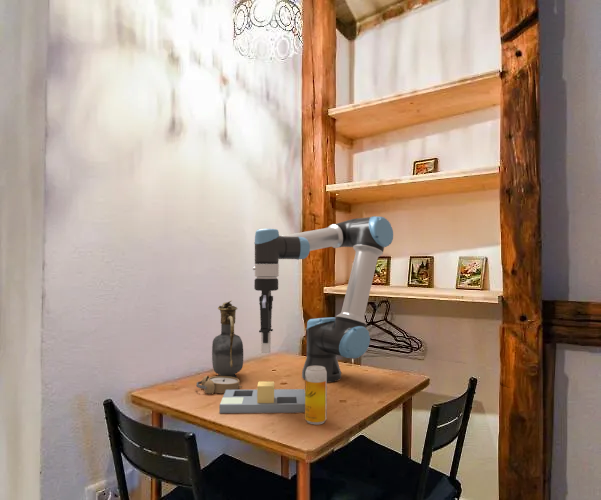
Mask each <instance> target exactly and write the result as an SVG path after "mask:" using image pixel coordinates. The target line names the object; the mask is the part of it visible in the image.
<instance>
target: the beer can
mask: <svg viewBox="0 0 601 500" xmlns="http://www.w3.org/2000/svg"><path fill="white" fill-rule="evenodd" d="M327 383H328V382H327V371H326V369H325V367H323V366H308V367H307V369H306V371H305V379H304V385H305V386H304V390H305V412H304V419H305V421H306V423H308V424H309V425H317V426H318V425H323V424H325V422H326V420H327V407H328V405H327V403H328V402H327V400H328V399H327V397H328V392H327V390H328V388H327V387H328V386H327Z"/></svg>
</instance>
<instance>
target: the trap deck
mask: <svg viewBox="0 0 601 500" xmlns="http://www.w3.org/2000/svg"><path fill="white" fill-rule="evenodd" d="M255 413H256V414H261V413H262V414H268V413H269V414H270V413H271V414H273V413H274V414H279V413H280V414H281V413H283V414H285V413H288V414H289V413H291V414H292V413H295V414H296V413H305V388H296V389H295V388H292V389H291V388H289V389H288V388H287V389H285V388H284V389H283V388H282V389H281V388H279V389H275V388H274V403H257V388H256V389H255V388H254V389H239V390H226V391H225V393H223V396H222V398H221V401H220V403H219V412H218V414H255Z"/></svg>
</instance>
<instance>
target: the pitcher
mask: <svg viewBox="0 0 601 500" xmlns="http://www.w3.org/2000/svg"><path fill="white" fill-rule="evenodd" d="M232 301H233V300H230V301H227V302H223V303H222V304H221V305H219V306H218V308H217V309H218V310H219V311H220V324H221V325H220V326H221V330H220V331H221V333H220V334H219V335H216V336H215V337H214V338H213V340H212V346H211V356H212V357H211V362H212V369H213V371H214V373H215V374H217V376H230V377H235V378H237V379H238V376H237V373H239V372H241V370H242V369H243V366H244V365H243V364H244V345H243V340H242V338H241V336H240V335H238V334H235V324H236V311H237V310H238V307H237V306H234V305H233V304H232V303H231V302H232Z"/></svg>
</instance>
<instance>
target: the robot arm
mask: <svg viewBox="0 0 601 500" xmlns="http://www.w3.org/2000/svg"><path fill="white" fill-rule="evenodd" d="M393 239H394V230H393V227H392V224H391V222H390V221H389V220H388V219H387V218H385V217H384V216H376V215H374V216H370V217H369V216H368V217H360V218H359V217H358V218H351V219H348V220H347V219H346V220H345V221H341V222H337V223H332V224H330V225H329V226H327V227H325V228H319V229H318V228H317V229H314V230H307V231H303V232H295V233H290V234H284V235H280V233H279V230H278V229H276V228H259V229H257V230H256V231H255V234H254V266H253V267H252V270H253V271H254V277H256V278H255V279H254V285H253V286H254V290H255V291H258V292H259V291H261V294H260V296H259V298H258V302H259V310H260V311H259V313H260V314H259V315H260V317H259V318H260V330H259V331H258V332H259V333H261V335H260V336H261V344H260V345H261V346H260V347H261V349H260V352H261V354H271V345H272V343H271V338H272V337H271V332H274V329H273V328H272V315H273V314H272V312H273V301H274V296H273V295H272V292H274V291H278V290H279V278H278V277H279V275H280V274H279V273H280V272H279V271H280V270H279V268H280V267H279V266H280V265H279V260H304V259H306V258H308V256H309V255H310V252H312V251H316V250H320V249H321V250H322V249H326V248H330V247H332V248H334V249H338V248H353V250H354V251H355V253H354V258H353V263H352V267H351V271H350V275H349V279H348V282H347V286H346V291H345V296H344V299H343V304H342V308H341V312H340V313H339V314H337V315H335V316H334V317H318V318H310V319H308V321H307V323H306V357H305V358H306V359H305V362H304V365H303V368H302V372H301V378H302V379H303V380H305V371H306V369H307V367H308V366H323V367H325V369H326V371H327V383H333V382H337V381H340V380H341V379H342V371H341V368H340V365H339V361H338V358H337V356H340V357H343V358H347V359H358V358H360V357H361V356H363V355H364V354H365V353H366V352H367V350H368V349H369V346H370V343H371V336H370V331H369V330H368V329H367V324H368V323H367V322H366V320H365V315H366V311H367V306H368V303H369V302H368V301H369V298H370V293H371V289H372V285H373V279H374V275H375V271H376V266H377V262H378V258H379V257H381V256H382V255H383V254H384V250H385V248H387V247H389V246H390V245H391V244H392V242H393V241H394V240H393Z"/></svg>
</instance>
